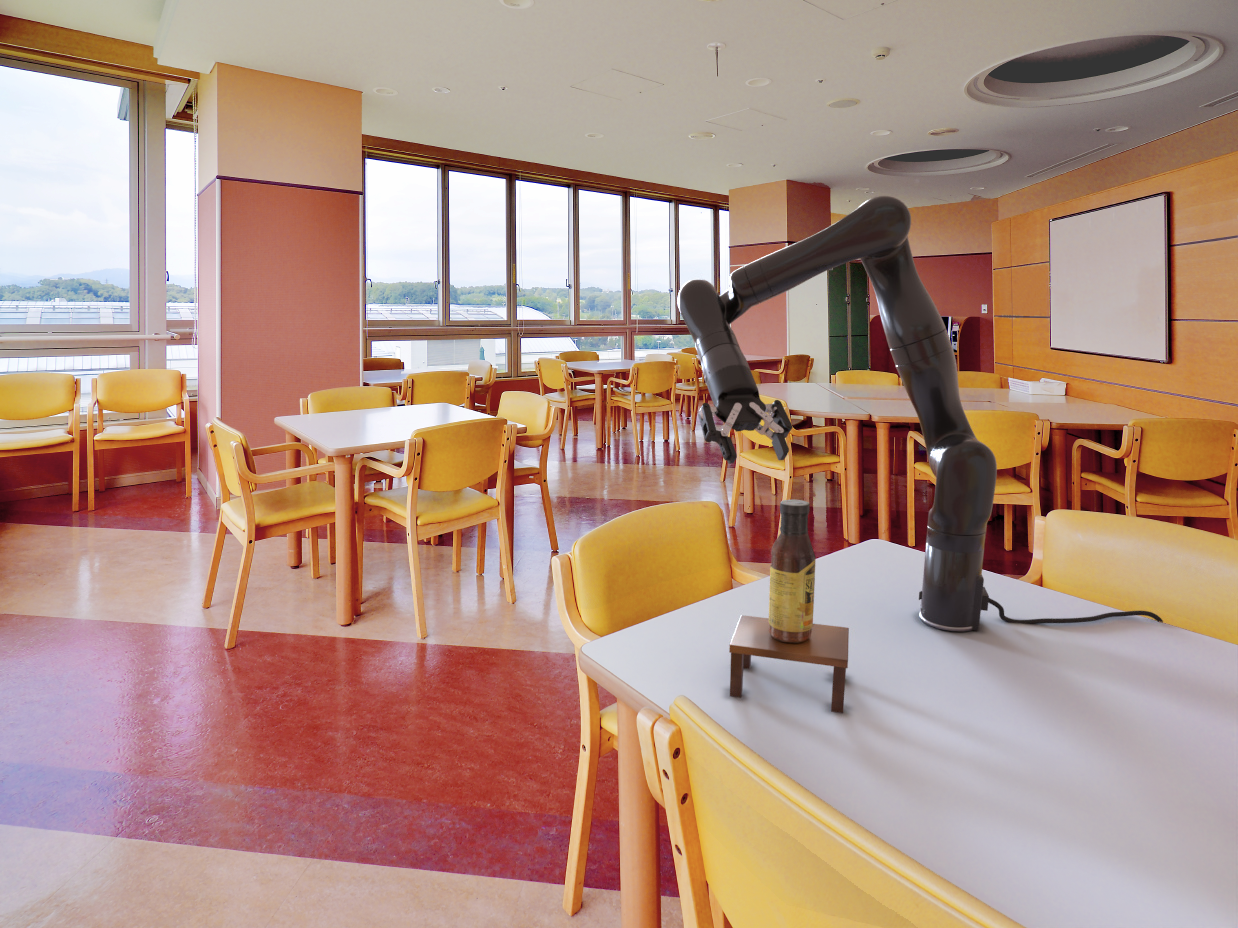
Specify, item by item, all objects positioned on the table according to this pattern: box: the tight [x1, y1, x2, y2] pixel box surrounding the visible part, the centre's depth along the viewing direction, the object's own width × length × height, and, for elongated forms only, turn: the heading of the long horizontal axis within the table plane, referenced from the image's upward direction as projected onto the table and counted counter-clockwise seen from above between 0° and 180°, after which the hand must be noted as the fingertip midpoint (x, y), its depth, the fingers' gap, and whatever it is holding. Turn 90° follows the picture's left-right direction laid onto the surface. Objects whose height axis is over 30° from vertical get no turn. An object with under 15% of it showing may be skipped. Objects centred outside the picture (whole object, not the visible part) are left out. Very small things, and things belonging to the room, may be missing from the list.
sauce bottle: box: [768, 499, 816, 643], centre depth 104 cm, size 7×6×20 cm
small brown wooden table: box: [728, 614, 850, 714], centre depth 107 cm, size 16×11×8 cm
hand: (758, 459), depth 112 cm, fingers open, 8 cm apart
